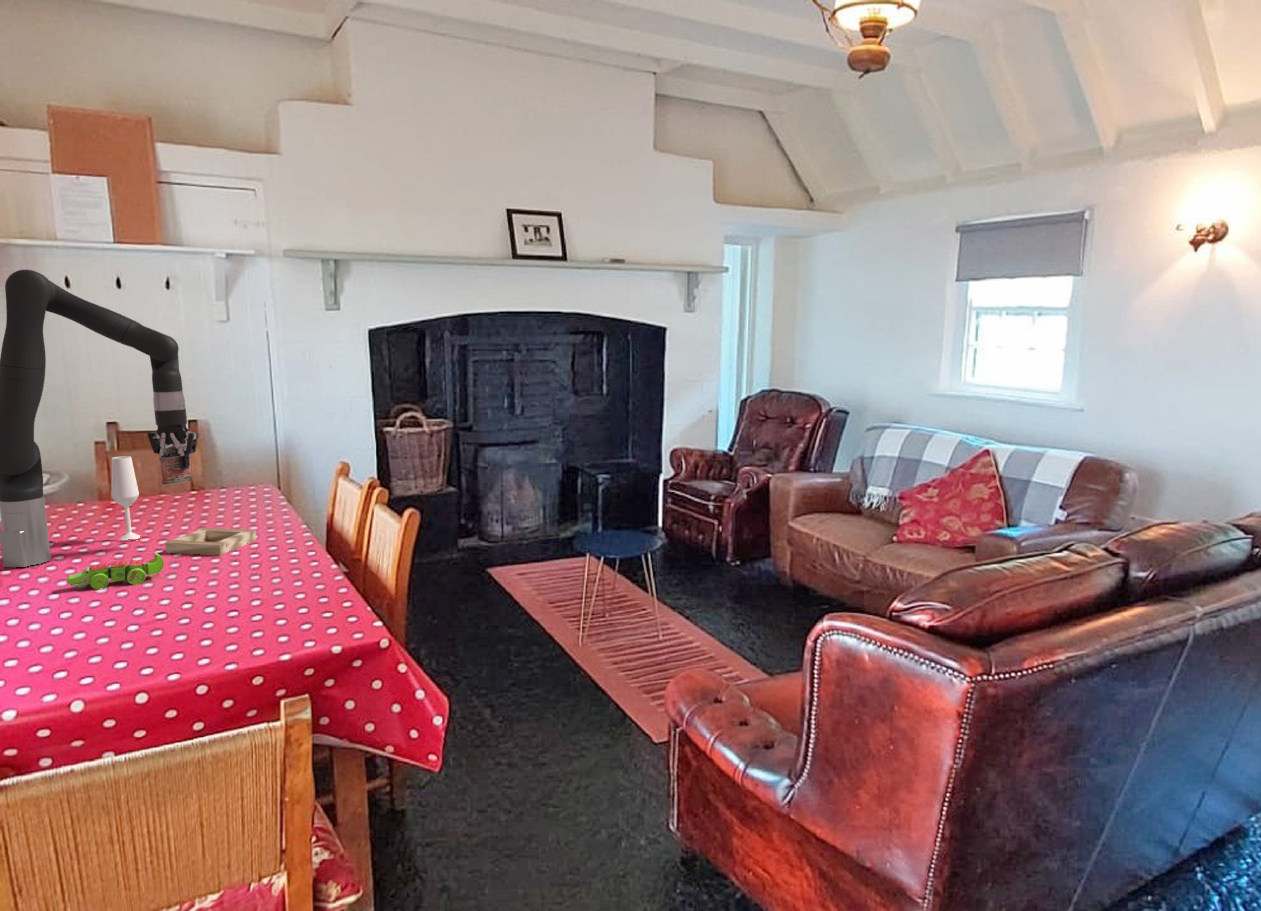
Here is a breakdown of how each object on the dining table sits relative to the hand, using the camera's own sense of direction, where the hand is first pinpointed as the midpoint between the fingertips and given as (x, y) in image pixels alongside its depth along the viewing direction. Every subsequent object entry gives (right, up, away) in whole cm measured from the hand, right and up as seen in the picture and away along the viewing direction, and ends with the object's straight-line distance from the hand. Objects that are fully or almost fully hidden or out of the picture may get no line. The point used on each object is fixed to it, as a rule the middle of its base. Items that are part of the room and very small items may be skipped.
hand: (176, 468), depth 220 cm
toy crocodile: (+3, -27, -31) cm, 41 cm away
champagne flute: (-19, -21, +9) cm, 29 cm away
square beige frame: (+9, -22, +1) cm, 24 cm away
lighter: (0, -4, +1) cm, 4 cm away
